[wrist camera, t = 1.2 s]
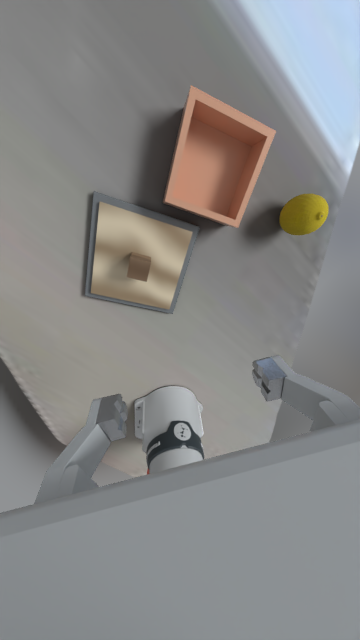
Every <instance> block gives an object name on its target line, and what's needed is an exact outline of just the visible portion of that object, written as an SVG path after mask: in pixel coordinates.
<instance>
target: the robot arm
mask: <svg viewBox="0 0 360 640" xmlns="http://www.w3.org/2000/svg"><path fill="white" fill-rule="evenodd" d="M253 367H254V369H253V371H252V375H253V379H254V381H255V383H256V385H257V386H258V387H260V388H261V393H262V395H263V396H264V398H265V399H266V401H272V400H276V399H282V400H283V401H285V402H286V403H288V404H289V405H290V406H292V407H294V408H295V409H296V410H298V411H299V412H301V413H302V414H304V415H305V416H307V417H308V418H310V419H311V420H313V423H312V426H311V429H310V432H308V433H304V434H301V435H296V436H293V437H289V438H285V439H281V440H277V441H274V442H270V443H266V444H262V445H258V446H254V447H251V448H247V449H243V450H239V451H235V452H231V453H228V454H224V455H220V456H216V457H212V458H208V459H205V460H204V453H203V446H202V443H201V439H200V438H201V437H202V435H203V427H202V421H201V416H200V413H201V411H202V410H203V406H202V404H201V403H199V402H198V401H197V400H196V397H195V395H194V394H193V393H192V392H191V391H190V390H188V389H186V388H184V387H179V386H168V387H163V388H160V389H157V390H155V391H153V392H152V393H150V394H149V395H147V396H145V397H142V398H139V399H137V400H135V402H134V411H135V437H137V438H139V439H142V450H143V452H145V453H146V454H147V456H146V459H147V465H148V471H147V475H144V476H140V477H136V478H132V479H129V480H125V481H121V482H117V483H113V484H109V485H106V486H102V487H98V485H97V484H96V483H95V482H94V481H93V480H92V479H91V477H92V475H93V473H94V471H95V470H96V468H97V466H98V464H99V463H100V461H101V459H102V458H103V456H104V454H105V452H106V450H107V449H108V447H109V445H110V443H111V441H114V440H118V439H121V438H125V437H126V428H127V425H126V424H125V421H126V419H127V416H128V412H127V406H126V403H125V402H124V401H122V396H121V394H116V395H112V396H107V397H102V398H98V399H94V400H93V402H92V404H91V408H90V411H89V415H88V419H87V422H86V426H85V427H83V428H82V429H81V430H80V431H79V433H78V434H77V435H76V436H75V437H74V439H73V440H72V441H71V442H70V443H69V445H68V446H67V447H66V448H65V450H64V451H63V452H62V453H61V455H60V456H59V457H58V458H57V459H56V460H55V462H54V463H53V464H52V465H51V466H50V468H49V469H48V470H47V471H46V474H45V476H44V479H43V482H42V484H41V487H40V490H39V492H38V495H37V498H36V500H35V503H34V504H33V505H29V506H26V507H22V508H18V509H14V510H10V511H7V512H2V513H0V640H360V408H359V406H357V405H356V404H355V403H354V402H353V401H352V400H351V399H350V398H349V397H348V396H347V395H345V394H343V393H341V392H339V391H336V390H334V389H332V388H330V387H327V386H325V385H323V384H321V383H318V382H316V381H313V380H312V379H309V378H307V377H304V376H303V375H300V374H296V373H295V372H294V371H293V370H292V369H291V368H290V367H289V366H288V365H287V364H286V362H285V361H284V360H283V359H282V358H281V357H280V356H279V355H275V356H271V357H267V358H263V359H259V360H255V361H253Z"/></svg>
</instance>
